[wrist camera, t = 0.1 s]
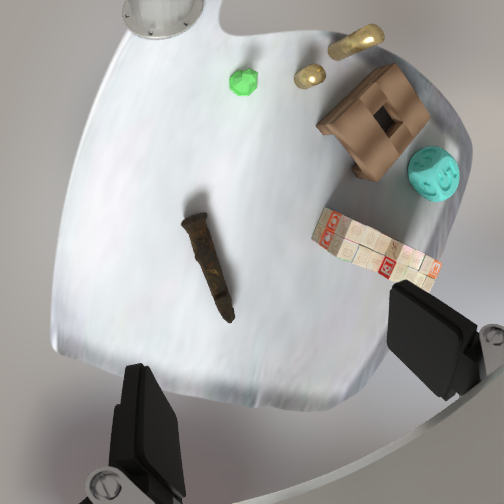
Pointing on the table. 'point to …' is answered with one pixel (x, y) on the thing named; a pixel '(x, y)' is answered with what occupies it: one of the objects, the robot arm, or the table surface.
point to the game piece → (244, 82)
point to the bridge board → (367, 128)
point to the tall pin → (356, 42)
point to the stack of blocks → (374, 250)
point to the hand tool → (209, 263)
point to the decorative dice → (433, 173)
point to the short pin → (310, 76)
